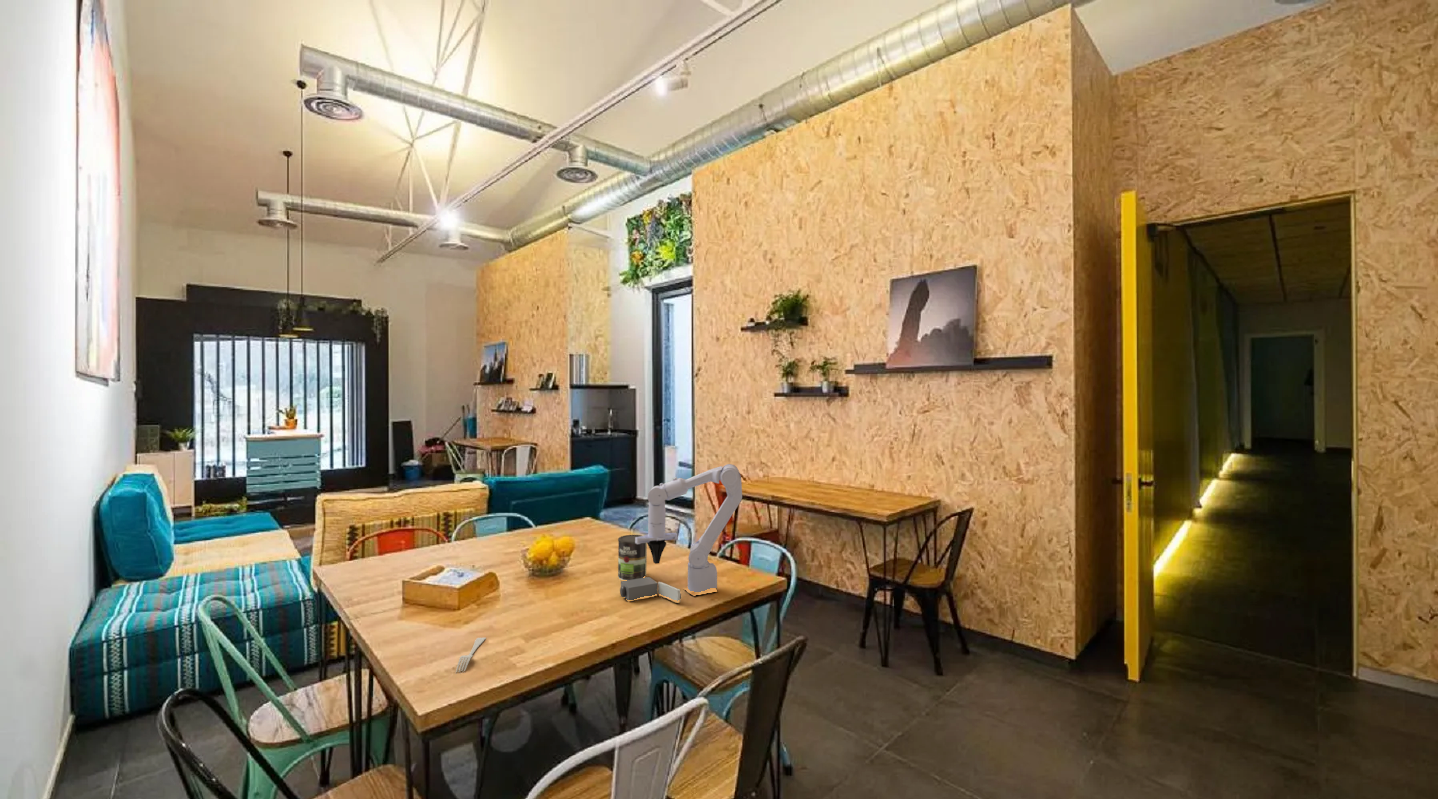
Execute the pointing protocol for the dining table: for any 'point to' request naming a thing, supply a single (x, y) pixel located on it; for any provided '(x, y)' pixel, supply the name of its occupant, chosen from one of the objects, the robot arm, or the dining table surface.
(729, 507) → the robot arm
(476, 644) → the fork
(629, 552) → the coffee can
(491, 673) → the dining table surface
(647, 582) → the camera case
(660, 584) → the side door
